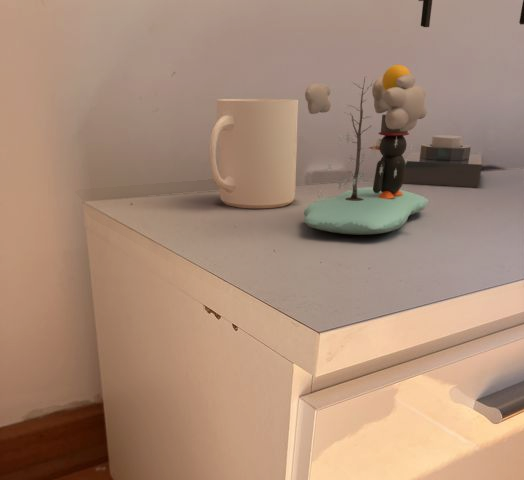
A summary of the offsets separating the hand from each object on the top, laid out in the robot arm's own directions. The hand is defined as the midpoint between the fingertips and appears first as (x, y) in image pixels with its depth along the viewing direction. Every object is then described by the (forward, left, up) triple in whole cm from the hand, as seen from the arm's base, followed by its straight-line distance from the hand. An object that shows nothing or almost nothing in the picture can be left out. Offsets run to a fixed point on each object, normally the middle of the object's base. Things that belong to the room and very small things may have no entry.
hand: (472, 25), depth 83 cm
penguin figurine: (+7, +38, -22) cm, 44 cm away
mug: (+22, +33, -22) cm, 45 cm away
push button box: (+1, +3, -21) cm, 22 cm away
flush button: (+1, +3, -17) cm, 17 cm away
